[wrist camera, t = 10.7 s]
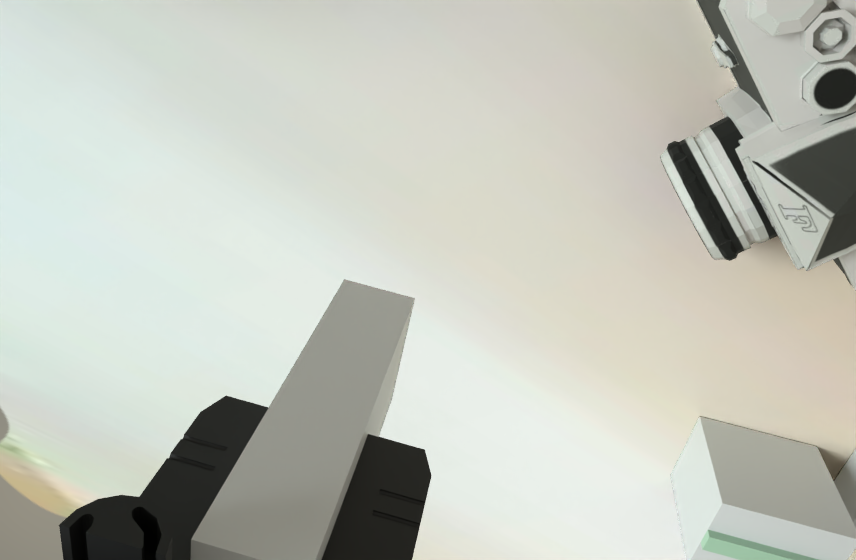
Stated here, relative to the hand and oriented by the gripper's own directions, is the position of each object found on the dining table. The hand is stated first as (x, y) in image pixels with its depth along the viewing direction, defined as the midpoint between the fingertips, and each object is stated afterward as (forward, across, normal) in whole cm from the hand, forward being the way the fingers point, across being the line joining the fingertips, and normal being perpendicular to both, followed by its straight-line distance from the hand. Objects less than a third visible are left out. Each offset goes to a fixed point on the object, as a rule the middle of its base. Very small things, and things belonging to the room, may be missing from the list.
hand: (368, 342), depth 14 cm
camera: (+23, +13, +2) cm, 26 cm away
